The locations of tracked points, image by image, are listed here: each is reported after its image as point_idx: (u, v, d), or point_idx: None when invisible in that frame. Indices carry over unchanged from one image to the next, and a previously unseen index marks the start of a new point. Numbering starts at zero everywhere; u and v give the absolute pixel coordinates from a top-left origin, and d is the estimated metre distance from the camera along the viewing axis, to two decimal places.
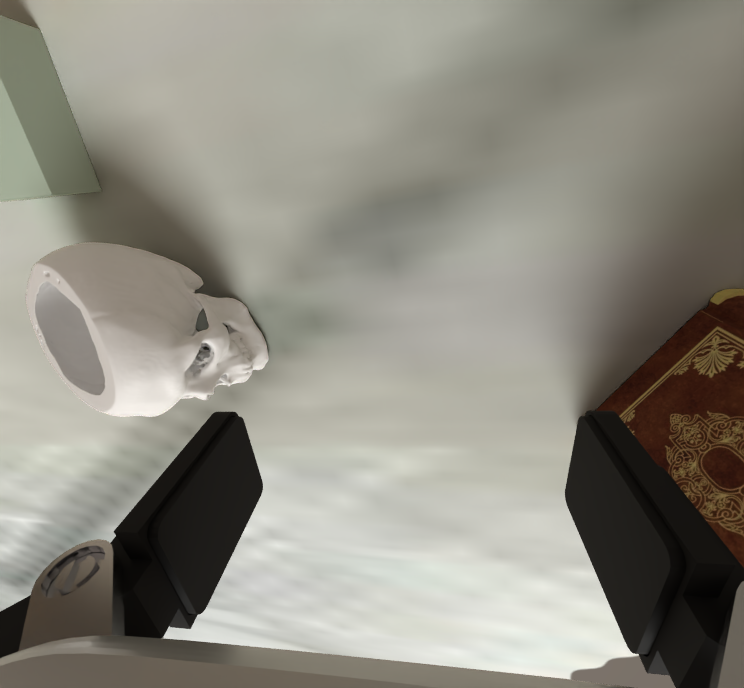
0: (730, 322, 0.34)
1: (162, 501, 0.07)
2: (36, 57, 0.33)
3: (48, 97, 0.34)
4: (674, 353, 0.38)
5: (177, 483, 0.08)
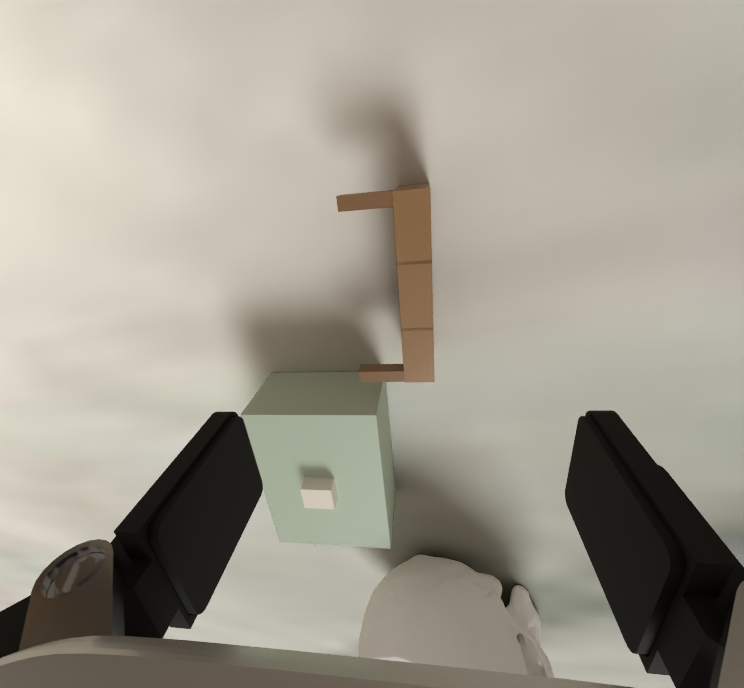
0: None
1: (162, 501, 0.07)
2: (385, 406, 0.30)
3: (387, 440, 0.31)
4: None
5: (177, 483, 0.08)
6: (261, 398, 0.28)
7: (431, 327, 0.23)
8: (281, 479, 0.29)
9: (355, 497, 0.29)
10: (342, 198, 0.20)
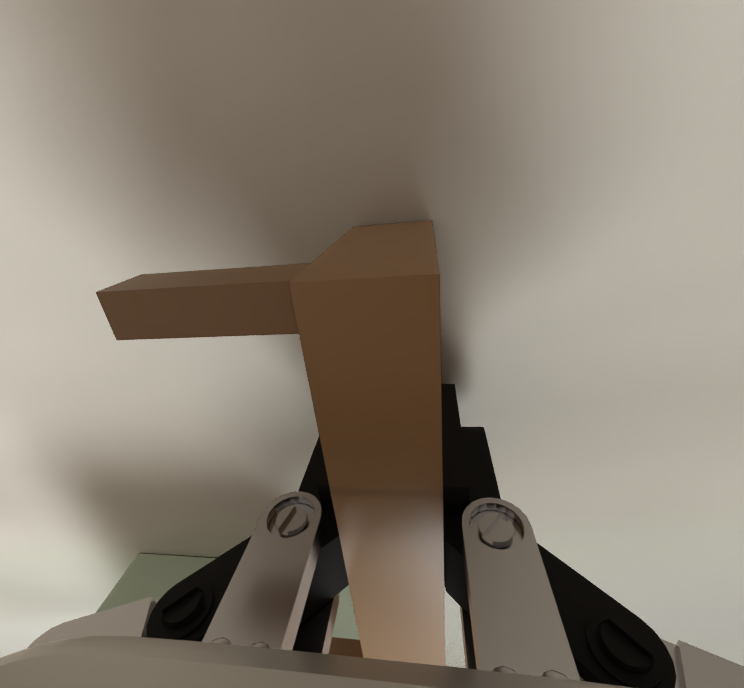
0: None
1: None
2: None
3: None
4: None
5: None
6: None
7: (439, 628, 0.08)
8: None
9: None
10: (118, 299, 0.05)
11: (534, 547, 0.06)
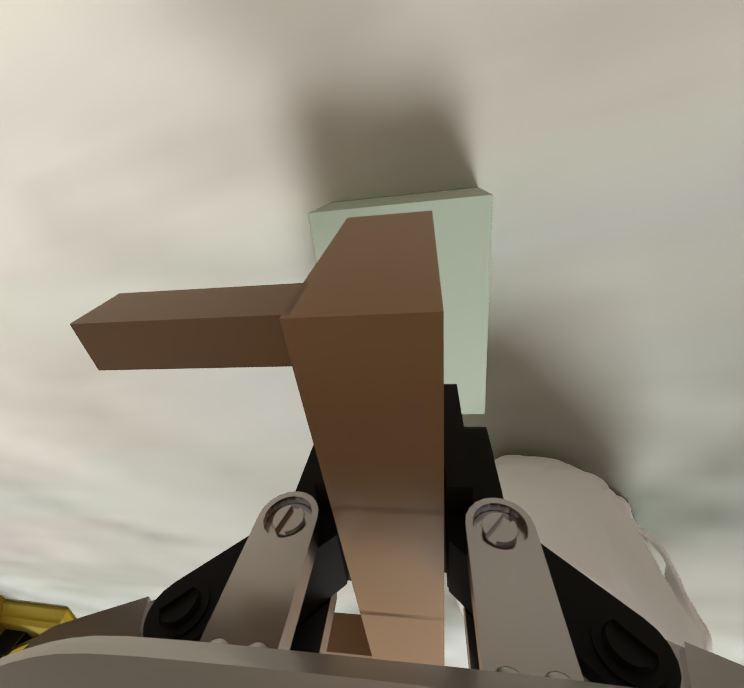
0: None
1: None
2: None
3: None
4: None
5: None
6: (328, 207, 0.22)
7: (439, 617, 0.08)
8: None
9: (447, 336, 0.23)
10: (95, 331, 0.05)
11: (539, 547, 0.06)
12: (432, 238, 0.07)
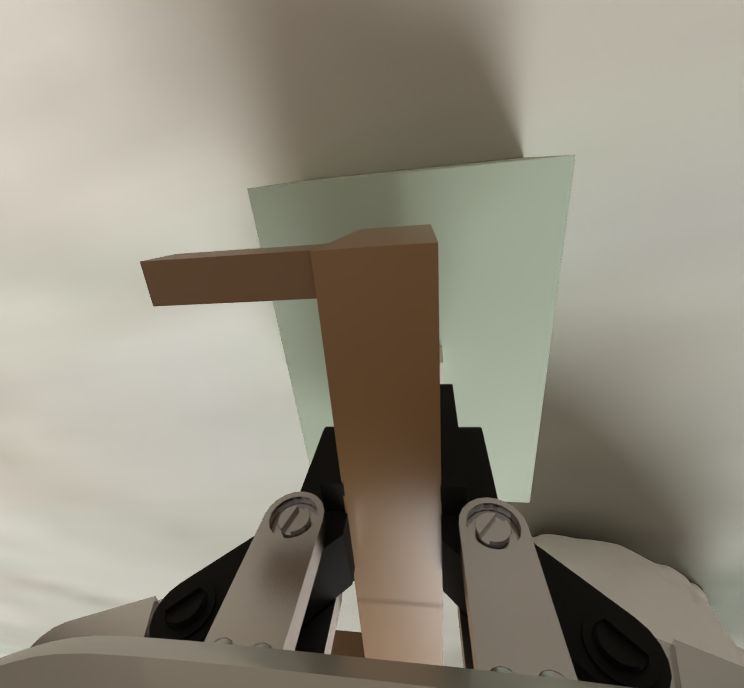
0: None
1: None
2: None
3: None
4: None
5: None
6: (289, 183, 0.14)
7: (437, 603, 0.08)
8: None
9: (479, 391, 0.14)
10: (159, 268, 0.06)
11: (532, 546, 0.06)
12: (430, 229, 0.08)
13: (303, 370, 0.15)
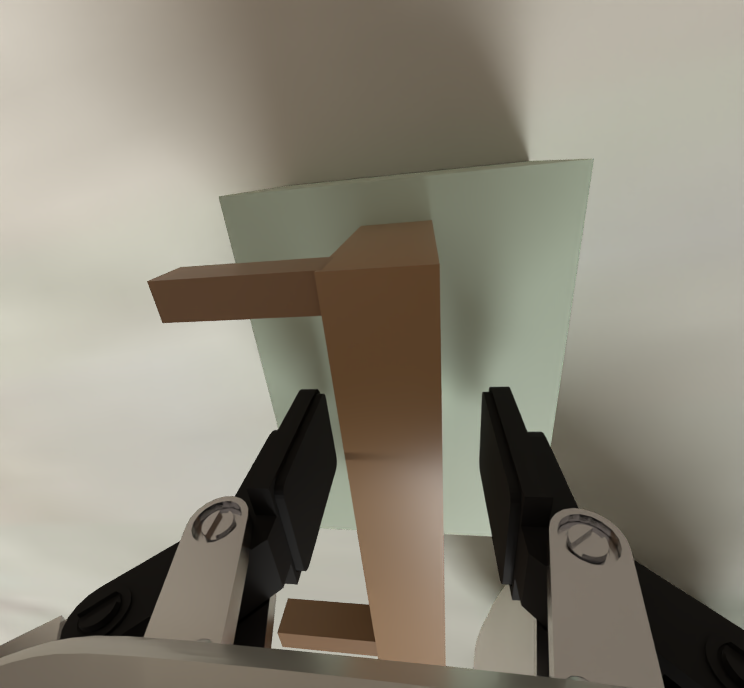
0: None
1: (281, 463, 0.08)
2: None
3: None
4: None
5: (288, 449, 0.09)
6: (269, 189, 0.12)
7: (439, 583, 0.09)
8: (315, 383, 0.13)
9: None
10: (166, 287, 0.06)
11: (631, 571, 0.06)
12: (431, 233, 0.08)
13: (286, 396, 0.13)
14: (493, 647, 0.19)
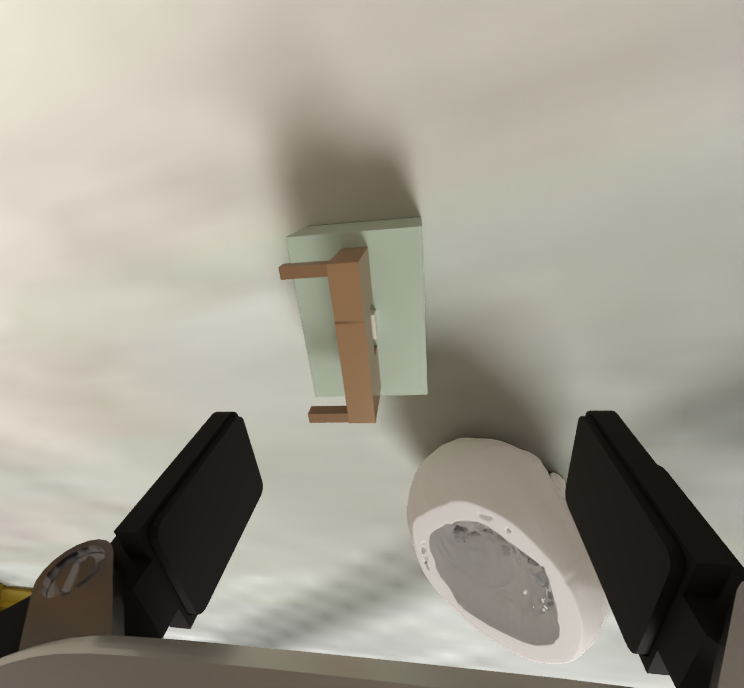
0: None
1: (162, 501, 0.07)
2: None
3: None
4: None
5: (177, 483, 0.08)
6: (302, 232, 0.29)
7: (369, 376, 0.25)
8: (322, 316, 0.29)
9: (395, 332, 0.29)
10: (283, 269, 0.23)
11: None
12: (363, 252, 0.25)
13: (309, 323, 0.30)
14: (419, 471, 0.35)
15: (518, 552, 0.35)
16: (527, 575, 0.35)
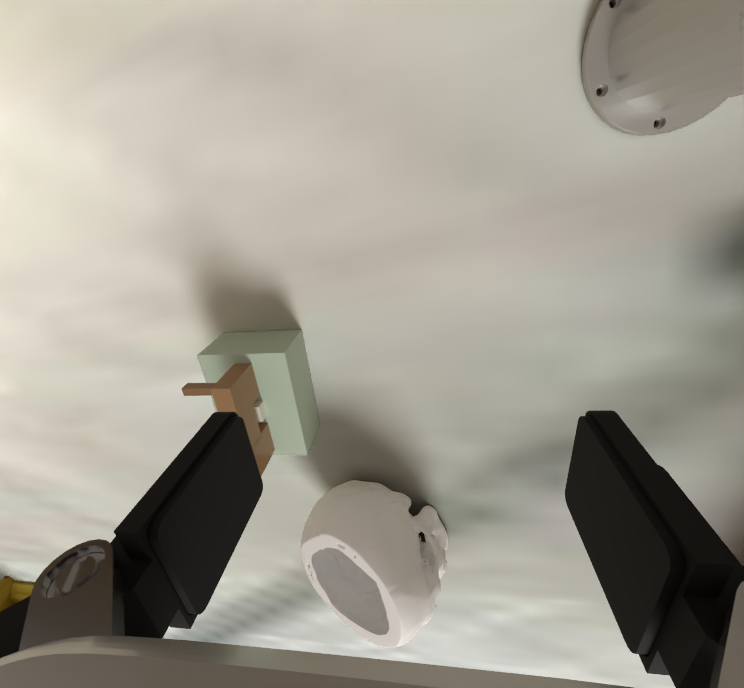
0: None
1: (162, 501, 0.07)
2: (301, 354, 0.43)
3: (304, 379, 0.44)
4: None
5: (177, 483, 0.08)
6: (213, 346, 0.41)
7: None
8: None
9: (278, 415, 0.42)
10: (185, 389, 0.35)
11: None
12: (242, 373, 0.37)
13: None
14: (313, 507, 0.48)
15: None
16: None
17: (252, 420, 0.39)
